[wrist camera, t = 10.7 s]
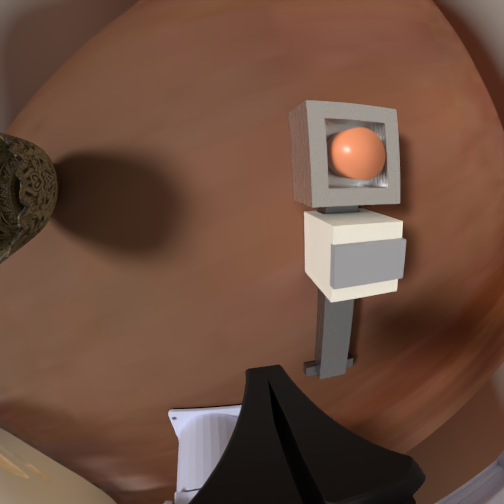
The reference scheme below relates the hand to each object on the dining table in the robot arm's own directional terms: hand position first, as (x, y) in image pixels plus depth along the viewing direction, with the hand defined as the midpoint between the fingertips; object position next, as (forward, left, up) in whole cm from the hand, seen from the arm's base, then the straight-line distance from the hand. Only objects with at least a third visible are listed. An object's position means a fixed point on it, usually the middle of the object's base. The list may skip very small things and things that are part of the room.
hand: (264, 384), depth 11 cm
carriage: (+3, -7, -10) cm, 13 cm away
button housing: (+9, -7, -10) cm, 15 cm away
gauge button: (+9, -7, -8) cm, 14 cm away
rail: (-2, -7, -10) cm, 13 cm away
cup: (+9, +14, -11) cm, 20 cm away
